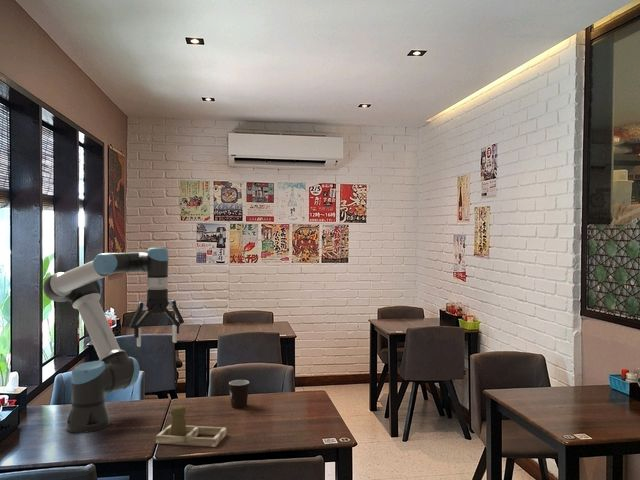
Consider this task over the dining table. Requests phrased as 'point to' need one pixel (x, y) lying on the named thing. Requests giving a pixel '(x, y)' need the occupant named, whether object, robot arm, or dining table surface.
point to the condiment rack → (193, 436)
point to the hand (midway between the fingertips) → (156, 344)
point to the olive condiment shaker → (178, 421)
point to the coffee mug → (239, 393)
